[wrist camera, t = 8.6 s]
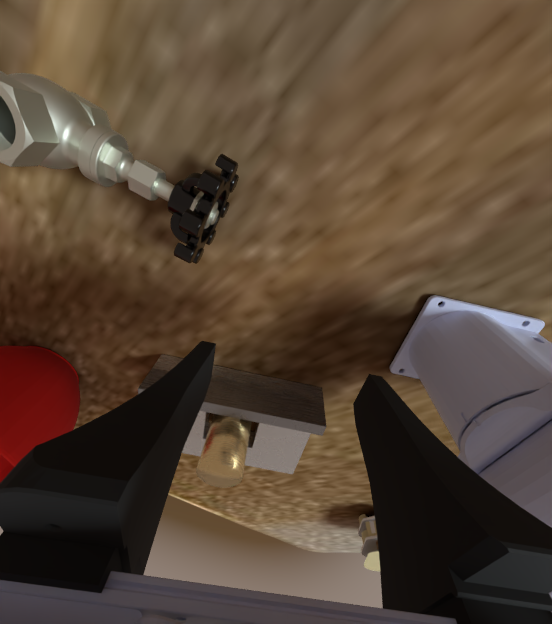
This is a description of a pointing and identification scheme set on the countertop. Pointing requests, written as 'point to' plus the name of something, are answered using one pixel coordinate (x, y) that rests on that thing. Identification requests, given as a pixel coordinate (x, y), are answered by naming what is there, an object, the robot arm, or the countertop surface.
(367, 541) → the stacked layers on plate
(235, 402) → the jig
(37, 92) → the valve
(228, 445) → the brass cylinder
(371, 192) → the countertop surface
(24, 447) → the ceramic cup
